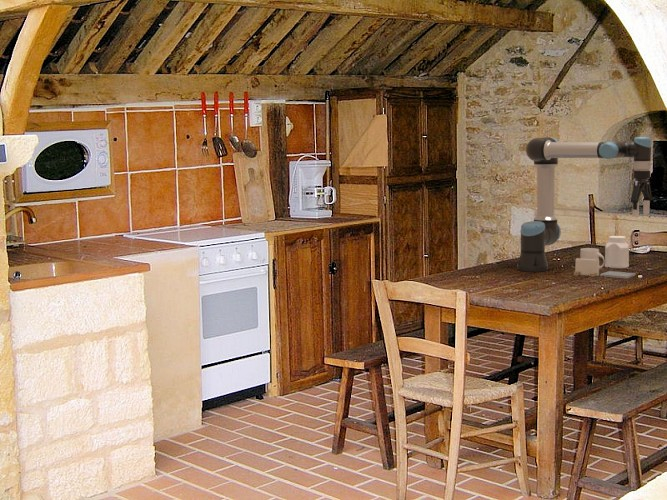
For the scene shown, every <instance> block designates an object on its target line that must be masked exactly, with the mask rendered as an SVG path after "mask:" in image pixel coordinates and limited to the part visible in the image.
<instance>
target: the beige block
mask: <svg viewBox="0 0 667 500" xmlns="http://www.w3.org/2000/svg"><path fill="white" fill-rule="evenodd" d="M599 266H600V259H599V260H593V259H580V258H579V257H577V258H575V271H574V272H573V276H575V277H577V276H588V275H589V277H591V278H595V277H600V269H599Z"/></svg>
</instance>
